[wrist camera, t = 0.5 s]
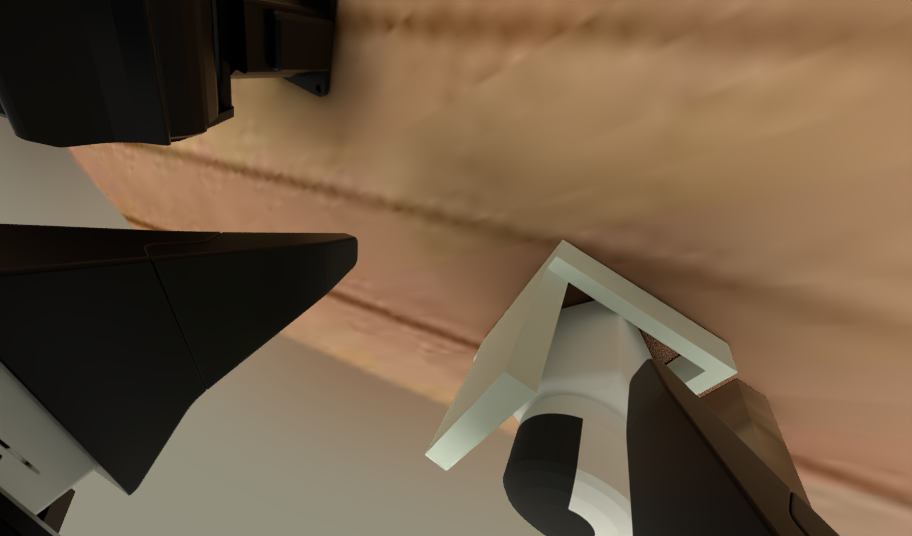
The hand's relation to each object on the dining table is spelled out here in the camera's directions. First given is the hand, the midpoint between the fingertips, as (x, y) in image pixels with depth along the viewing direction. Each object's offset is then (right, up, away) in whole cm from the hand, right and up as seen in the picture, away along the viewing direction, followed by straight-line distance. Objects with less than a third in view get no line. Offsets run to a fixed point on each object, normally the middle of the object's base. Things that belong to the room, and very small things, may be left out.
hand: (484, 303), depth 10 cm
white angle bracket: (+9, -4, +14) cm, 17 cm away
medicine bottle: (+9, -4, +14) cm, 17 cm away
